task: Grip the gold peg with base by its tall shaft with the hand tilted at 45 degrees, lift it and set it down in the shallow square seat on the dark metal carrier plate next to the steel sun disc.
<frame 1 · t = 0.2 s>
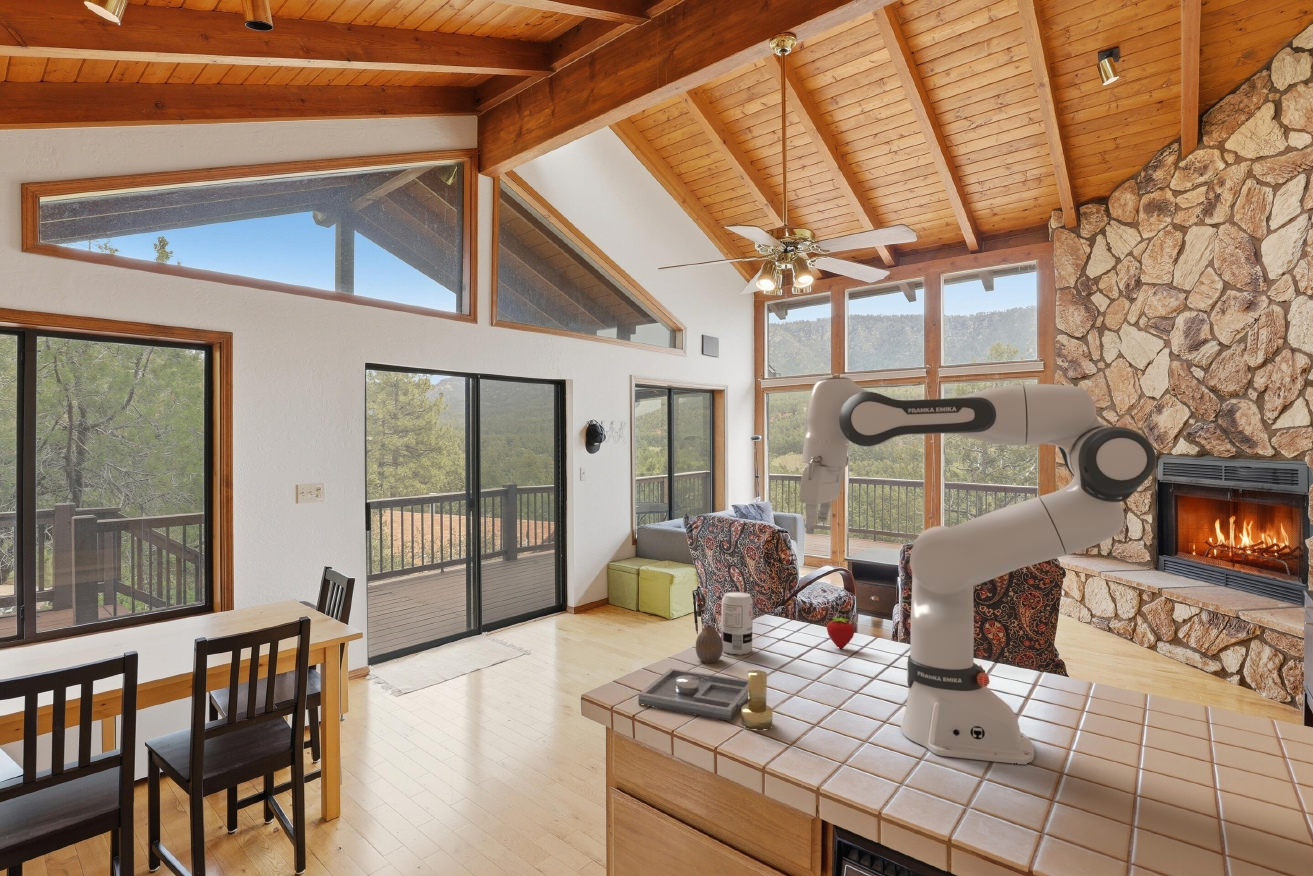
hand: (816, 523, 135), 39 cm above the counter, tool pointing down, fingers open, 8 cm apart
carrier: (698, 697, 142), on the counter
vase: (709, 661, 168), on the counter
supplement can: (736, 651, 176), on the counter
gold peg with base: (756, 724, 129), on the counter
strawberry: (840, 650, 179), on the counter
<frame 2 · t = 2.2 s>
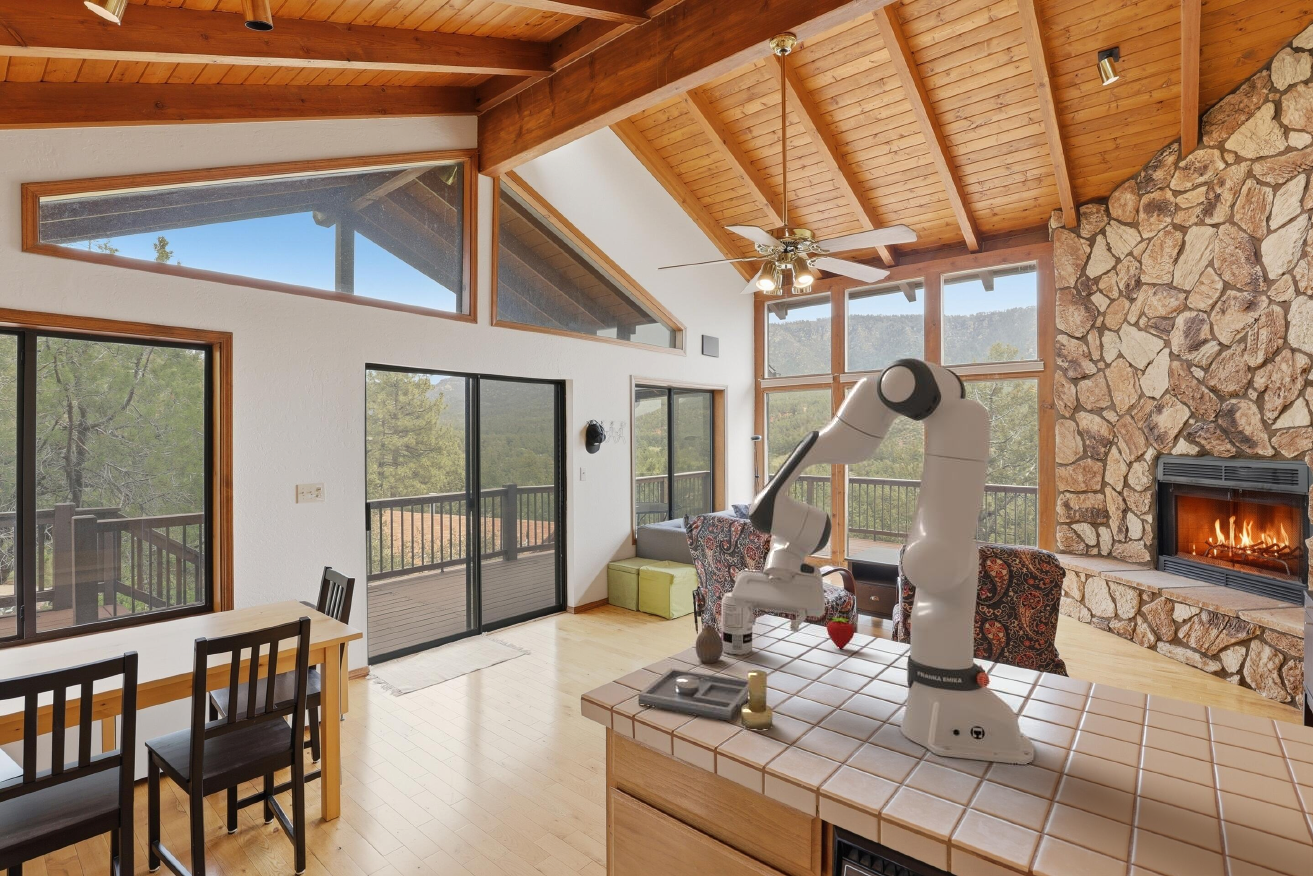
hand: (771, 626, 141), 16 cm above the counter, tool tilted 45°, fingers open, 8 cm apart
nothing on the counter moved.
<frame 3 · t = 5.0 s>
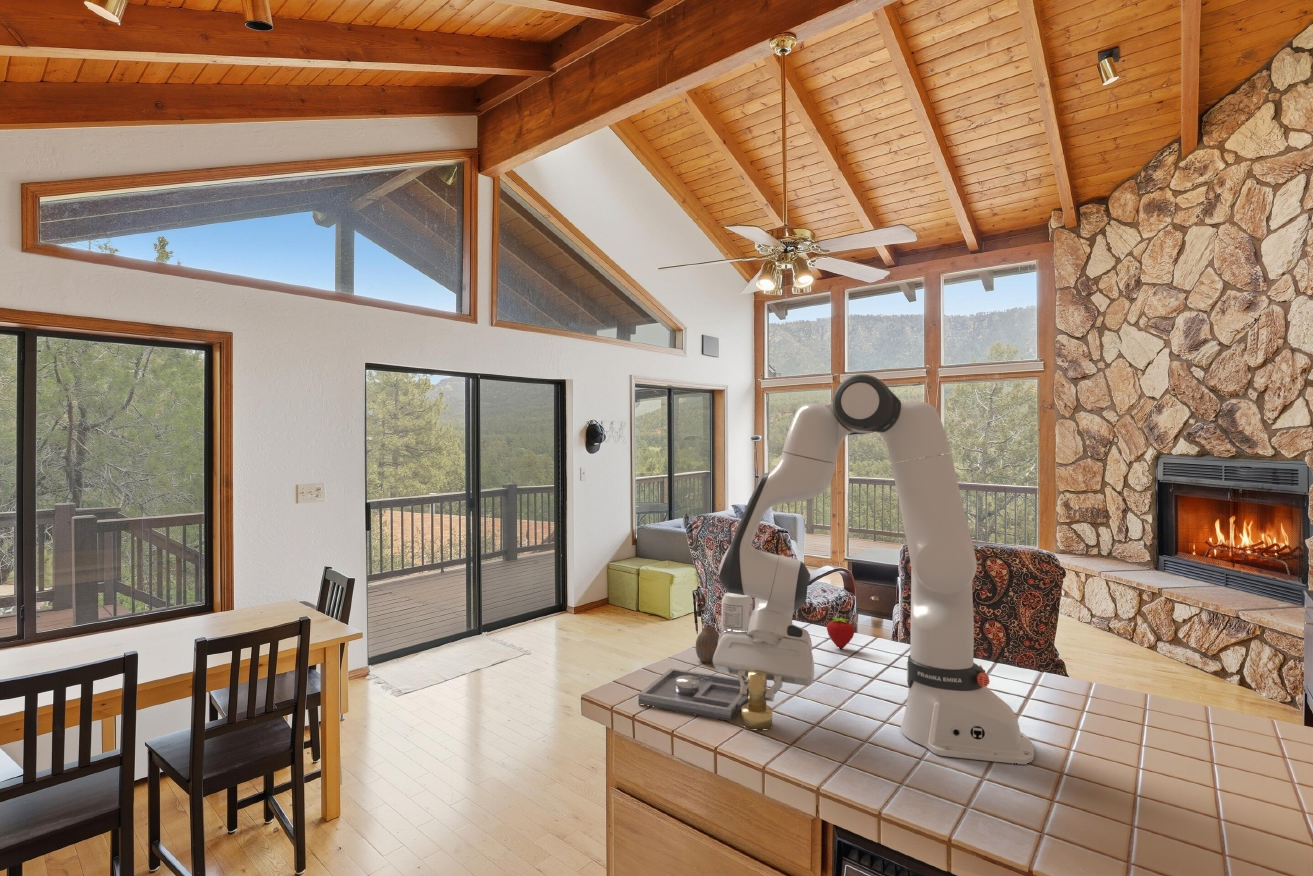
hand: (756, 697, 129), 5 cm above the counter, tool tilted 45°, fingers closed on gold peg with base, 4 cm apart
gold peg with base: (756, 724, 129), on the counter, touching gripper
everything else where it was.
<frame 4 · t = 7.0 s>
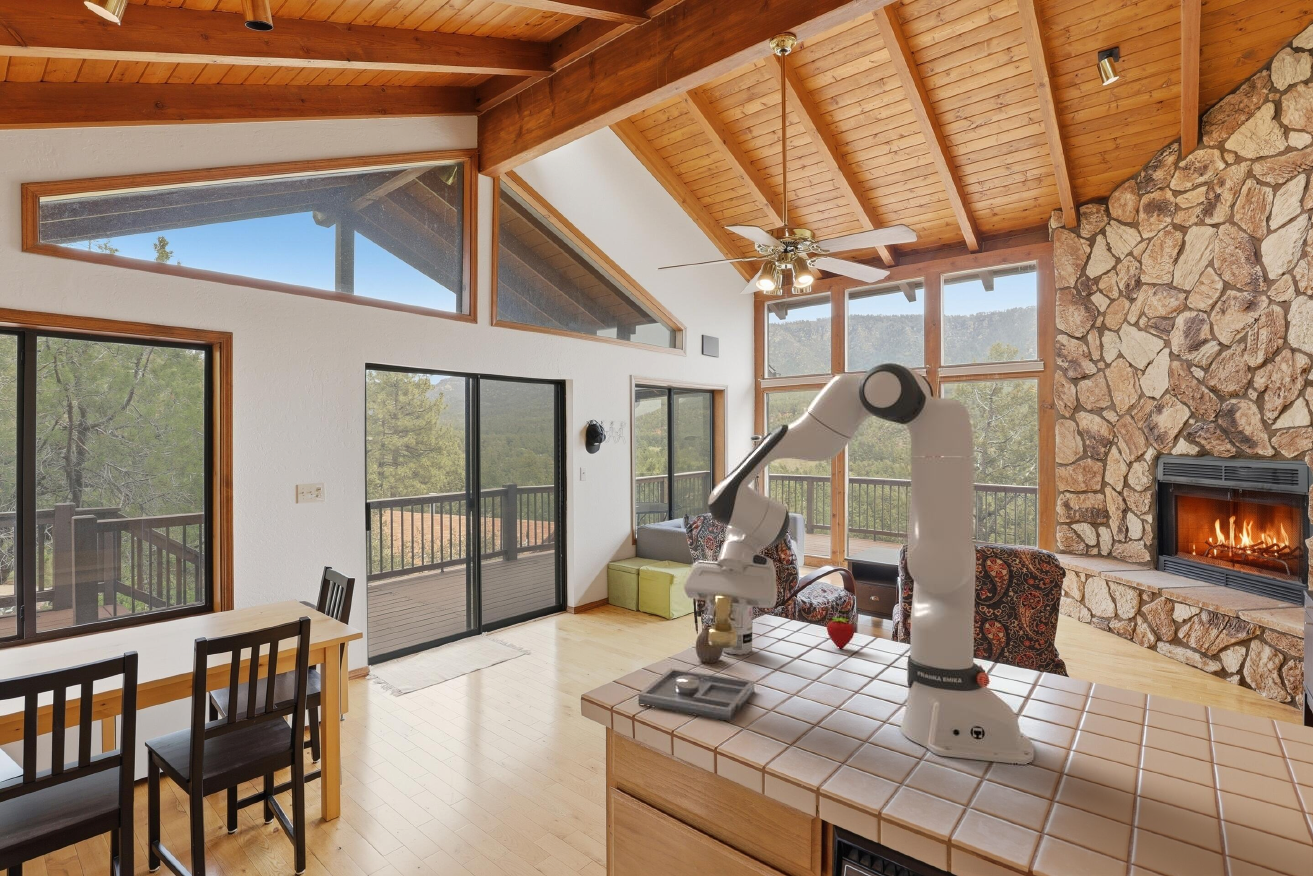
hand: (722, 618, 139), 18 cm above the counter, tool tilted 45°, fingers closed on gold peg with base, 4 cm apart
gold peg with base: (722, 643, 140), point 12 cm above the counter, touching gripper
everything else where it was.
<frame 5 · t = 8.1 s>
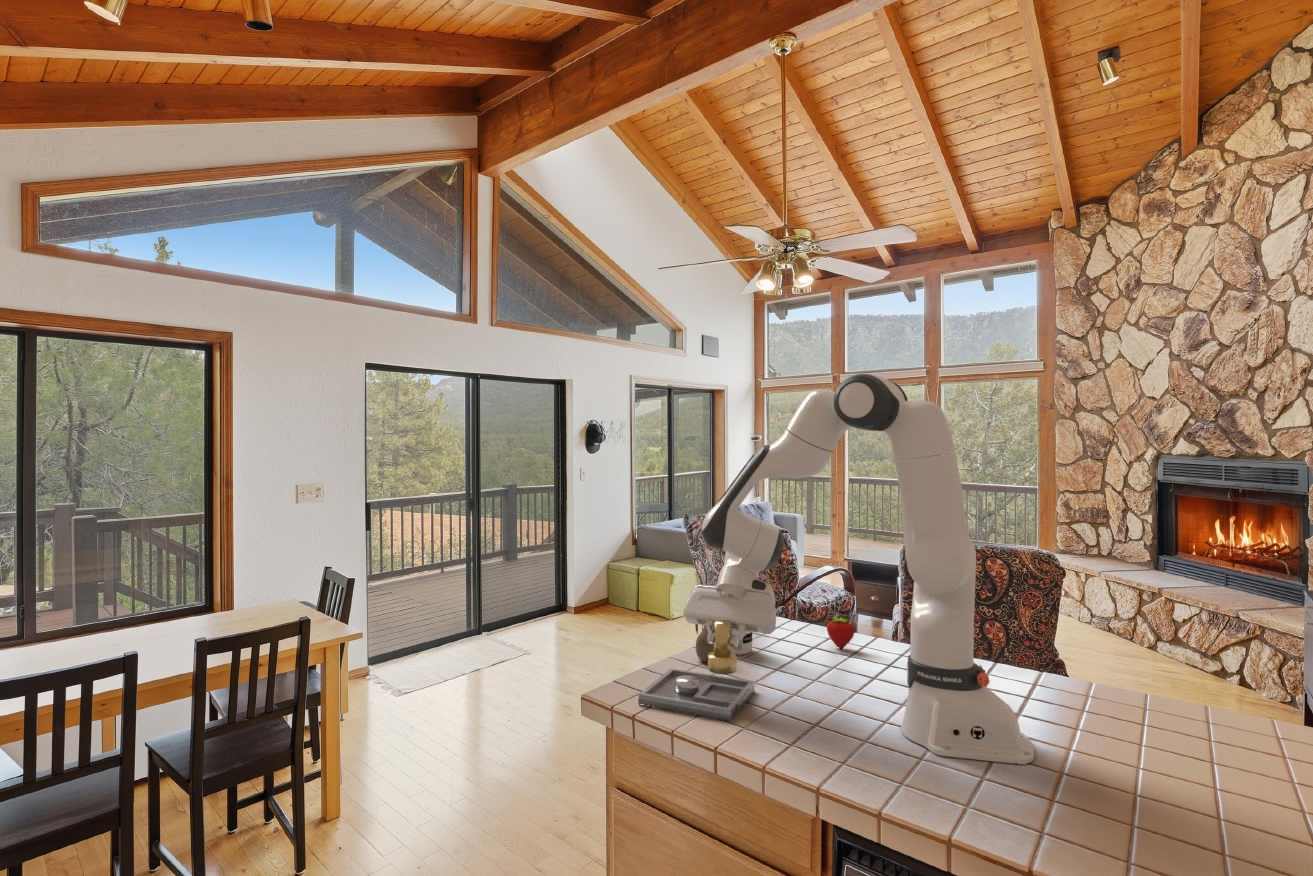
hand: (721, 644, 140), 12 cm above the counter, tool tilted 45°, fingers closed on gold peg with base, 4 cm apart
gold peg with base: (722, 669, 140), point 7 cm above the counter, touching gripper
everything else where it was.
when the fingers open (8 cm above the counter, at t = 9.1 s): gold peg with base drops 1 cm, resting on carrier.
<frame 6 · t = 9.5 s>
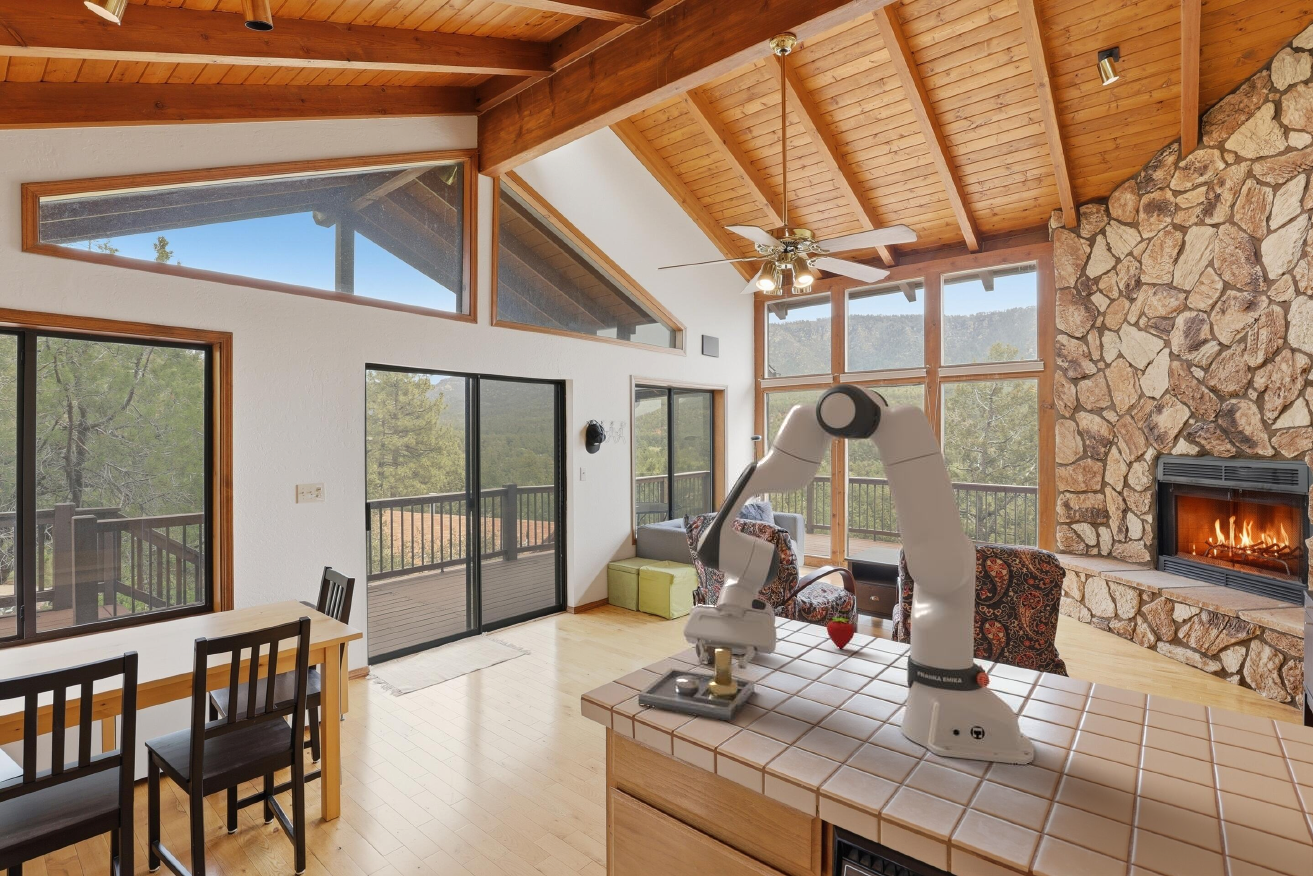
hand: (722, 664, 140), 8 cm above the counter, tool tilted 45°, fingers open, 7 cm apart
gold peg with base: (722, 696, 140), point 1 cm above the counter, touching carrier
everything else where it was.
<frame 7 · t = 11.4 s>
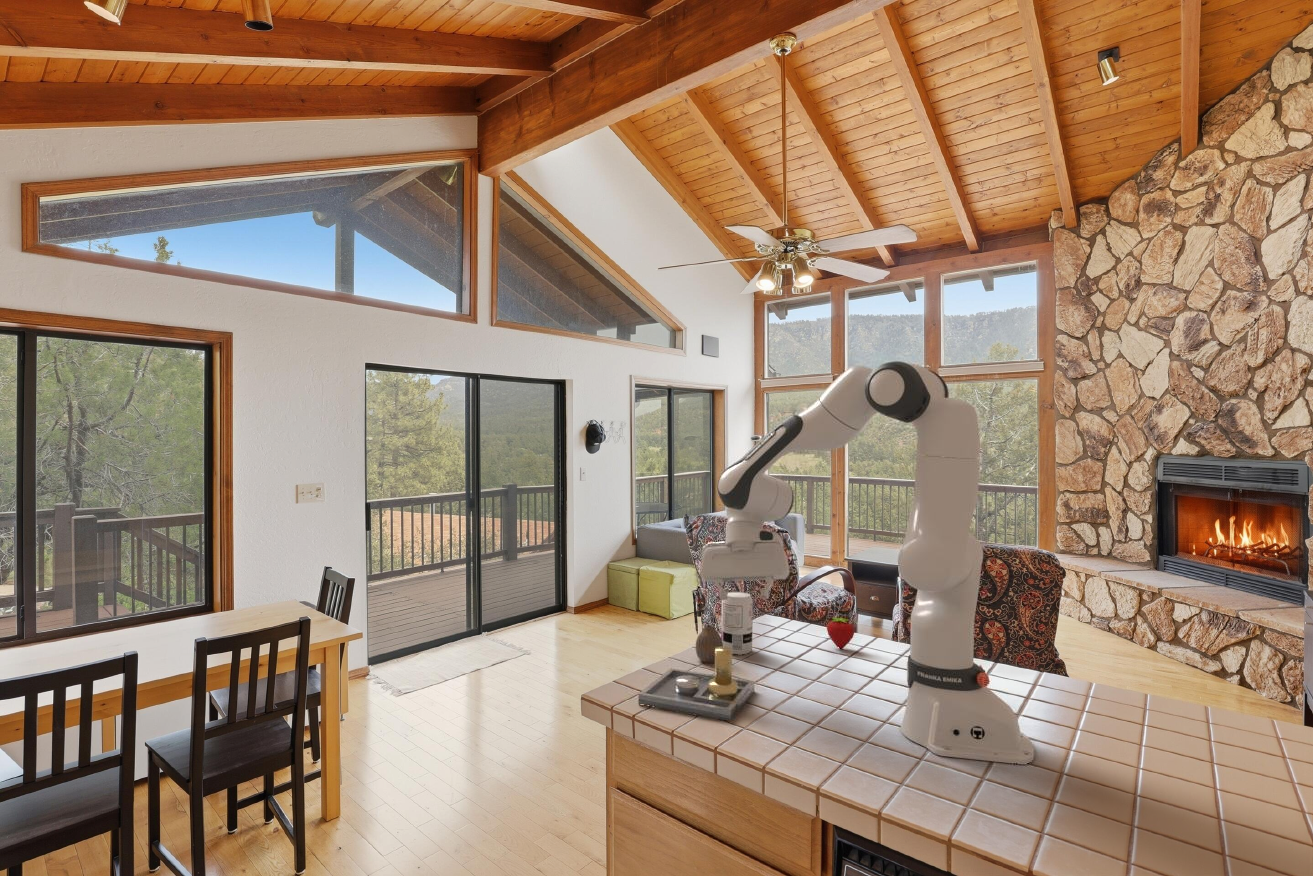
hand: (743, 598, 148), 20 cm above the counter, tool tilted 30°, fingers open, 8 cm apart
nothing on the counter moved.
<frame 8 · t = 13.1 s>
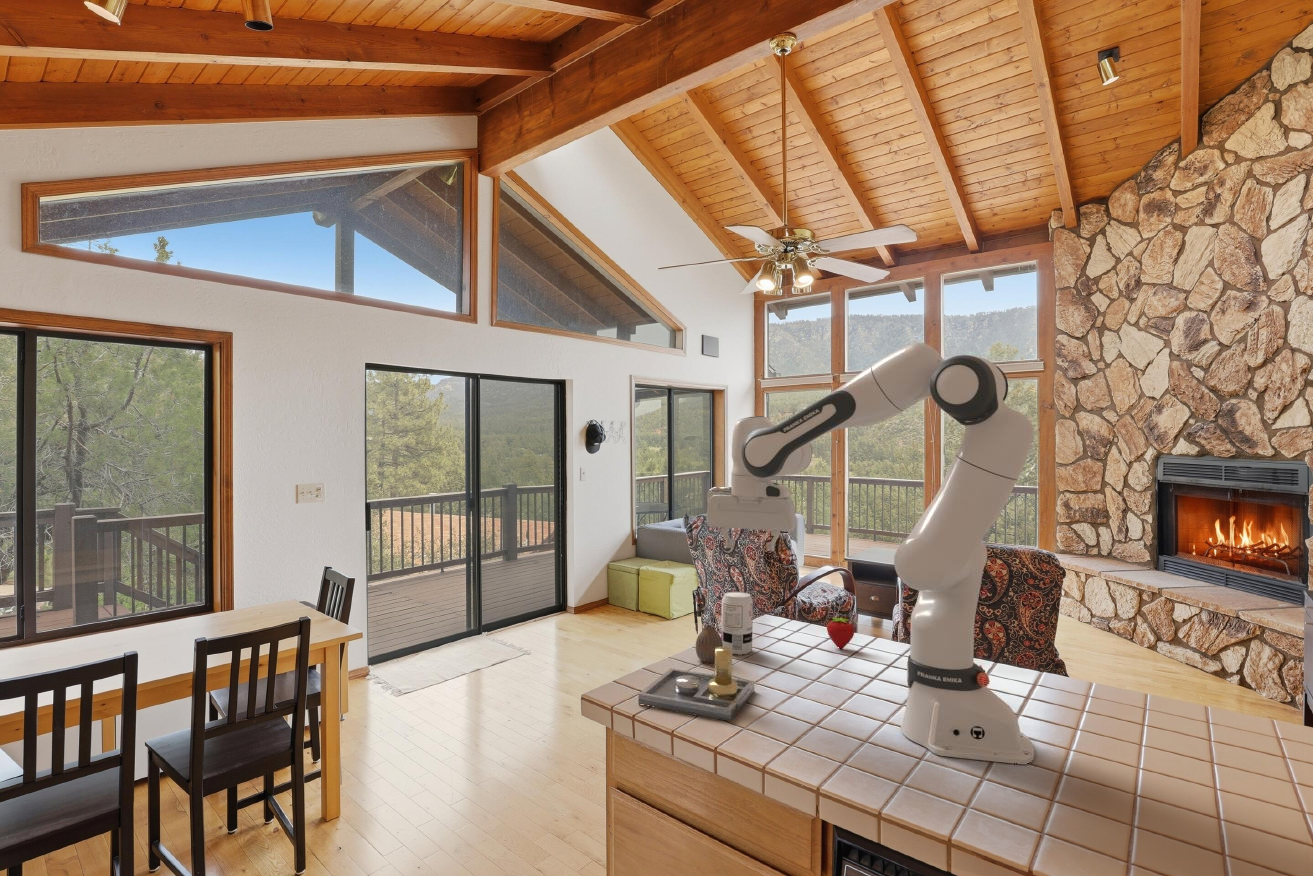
hand: (749, 549, 150), 31 cm above the counter, tool pointing down, fingers open, 8 cm apart
nothing on the counter moved.
at the end: gold peg with base 0.1 cm from the target spot on the carrier, point 1.2 cm above the carrier's base; gold peg with base tilted 0°; the gripper is holding nothing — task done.
